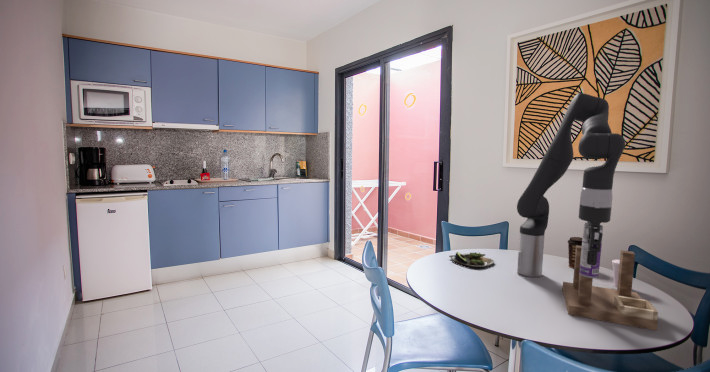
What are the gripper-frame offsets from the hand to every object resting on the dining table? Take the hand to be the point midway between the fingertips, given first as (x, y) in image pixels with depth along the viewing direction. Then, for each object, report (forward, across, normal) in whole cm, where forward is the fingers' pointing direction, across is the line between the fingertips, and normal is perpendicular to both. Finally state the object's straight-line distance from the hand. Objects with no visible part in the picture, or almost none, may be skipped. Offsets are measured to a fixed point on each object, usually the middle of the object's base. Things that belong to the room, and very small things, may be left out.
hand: (589, 261), depth 102 cm
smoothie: (+20, -41, +16) cm, 48 cm away
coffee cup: (+20, -59, +4) cm, 62 cm away
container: (+4, 0, 0) cm, 4 cm away
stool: (+20, -17, +7) cm, 27 cm away
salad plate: (+21, -45, -39) cm, 63 cm away
